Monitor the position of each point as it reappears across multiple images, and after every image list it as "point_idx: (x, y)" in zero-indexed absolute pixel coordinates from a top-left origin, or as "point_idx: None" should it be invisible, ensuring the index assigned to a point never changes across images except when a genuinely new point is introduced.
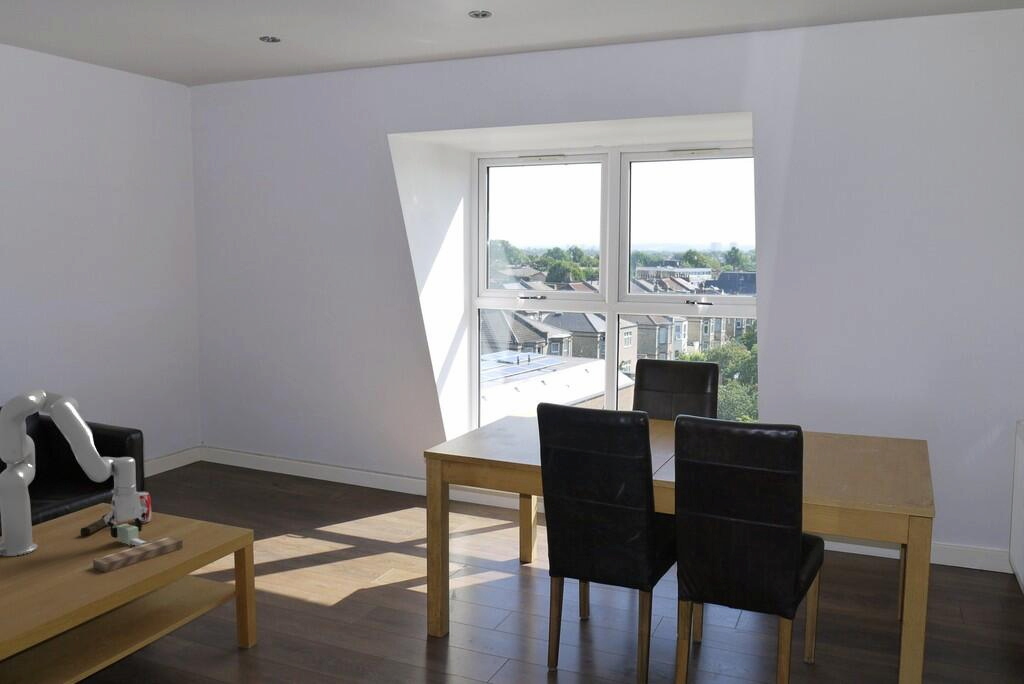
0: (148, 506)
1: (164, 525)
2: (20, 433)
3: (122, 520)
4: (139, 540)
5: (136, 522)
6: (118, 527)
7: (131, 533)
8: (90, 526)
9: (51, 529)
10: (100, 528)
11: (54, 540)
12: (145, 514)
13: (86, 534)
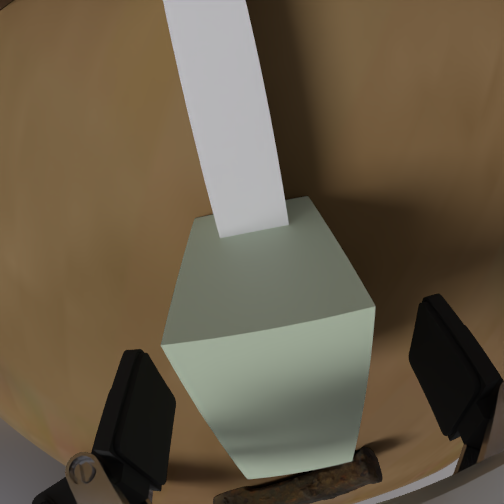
0: None
1: (25, 398)
2: None
3: (501, 482)
4: (217, 114)
5: (153, 461)
6: (354, 442)
7: (292, 272)
8: (348, 488)
9: (373, 489)
10: (288, 481)
11: (440, 438)
12: (35, 501)
13: (370, 455)
